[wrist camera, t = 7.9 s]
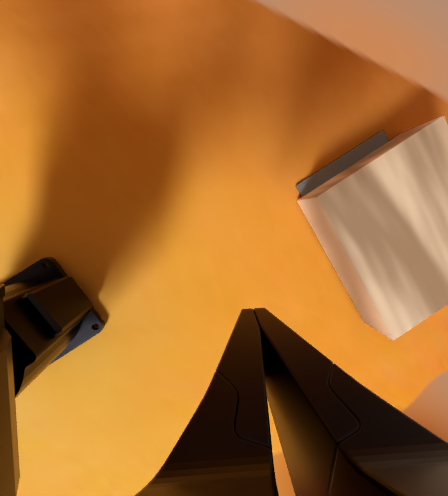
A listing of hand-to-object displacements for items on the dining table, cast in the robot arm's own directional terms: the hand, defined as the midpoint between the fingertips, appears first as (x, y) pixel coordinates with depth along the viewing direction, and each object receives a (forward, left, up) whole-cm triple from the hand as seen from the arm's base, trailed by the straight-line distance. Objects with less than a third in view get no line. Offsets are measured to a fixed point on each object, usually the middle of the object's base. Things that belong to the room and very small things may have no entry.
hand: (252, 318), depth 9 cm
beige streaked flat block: (+7, -5, -8) cm, 12 cm away
